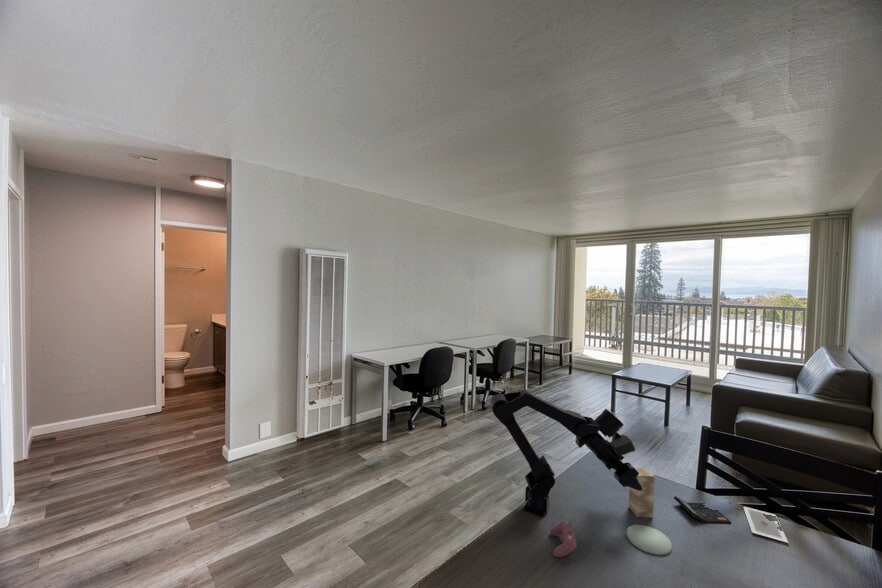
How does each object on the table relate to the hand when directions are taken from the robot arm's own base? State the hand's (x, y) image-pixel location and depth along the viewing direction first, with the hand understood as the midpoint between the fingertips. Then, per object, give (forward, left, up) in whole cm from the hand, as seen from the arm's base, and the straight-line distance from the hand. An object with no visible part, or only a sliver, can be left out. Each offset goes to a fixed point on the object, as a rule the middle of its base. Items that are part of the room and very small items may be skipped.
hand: (633, 481), depth 115 cm
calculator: (+18, +12, -10) cm, 24 cm away
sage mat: (+5, -12, -10) cm, 16 cm away
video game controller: (-14, -28, -10) cm, 33 cm away
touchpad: (+34, +16, -10) cm, 39 cm away
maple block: (+2, +1, -10) cm, 10 cm away
